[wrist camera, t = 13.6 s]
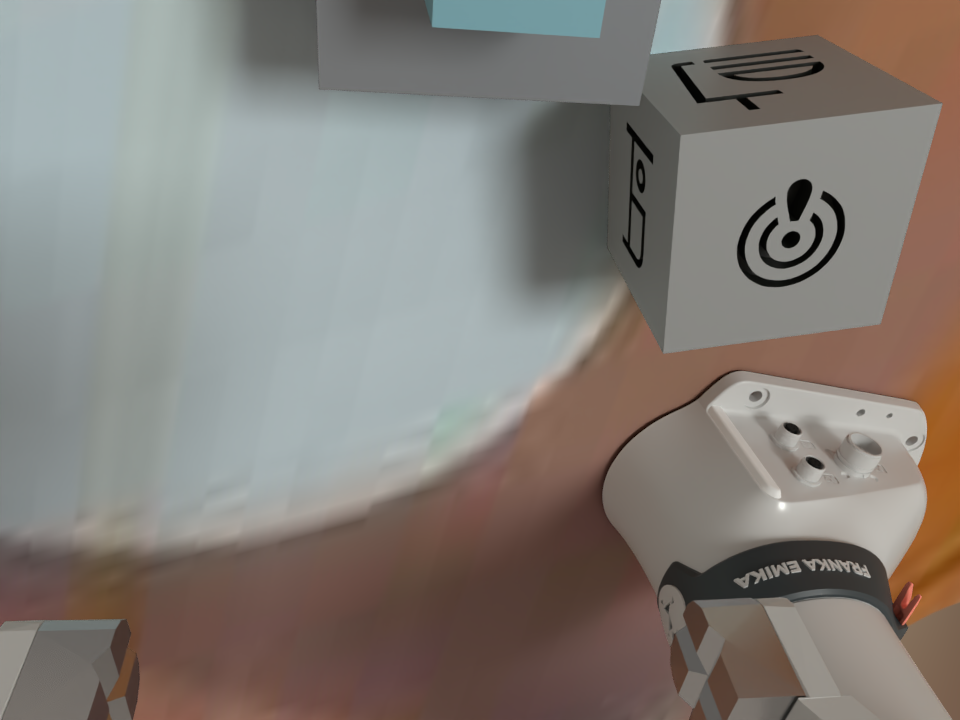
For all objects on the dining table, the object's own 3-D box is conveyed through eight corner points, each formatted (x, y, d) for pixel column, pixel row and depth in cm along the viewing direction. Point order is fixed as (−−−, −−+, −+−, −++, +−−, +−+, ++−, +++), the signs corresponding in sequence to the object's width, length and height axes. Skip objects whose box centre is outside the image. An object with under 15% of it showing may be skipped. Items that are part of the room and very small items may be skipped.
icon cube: (611, 58, 36) (680, 135, 28) (817, 34, 37) (942, 103, 29) (607, 247, 42) (663, 353, 34) (784, 224, 43) (880, 324, 35)
